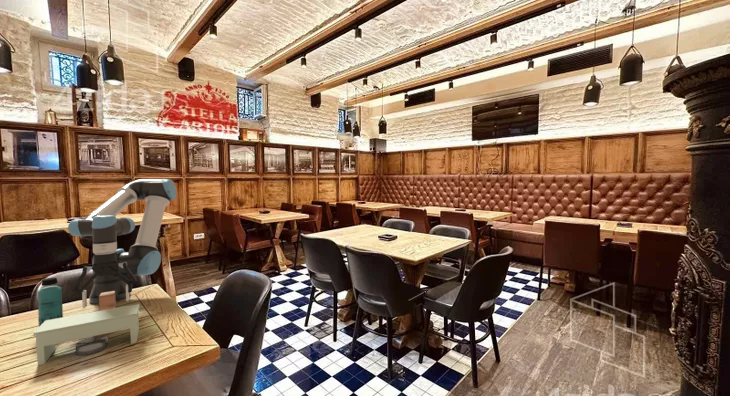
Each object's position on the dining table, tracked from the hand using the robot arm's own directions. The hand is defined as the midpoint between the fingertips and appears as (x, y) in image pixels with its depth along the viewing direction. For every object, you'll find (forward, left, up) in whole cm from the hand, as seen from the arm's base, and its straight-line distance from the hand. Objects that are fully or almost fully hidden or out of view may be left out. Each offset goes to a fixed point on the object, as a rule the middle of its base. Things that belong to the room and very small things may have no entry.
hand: (106, 303), depth 124 cm
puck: (+29, 0, -6) cm, 29 cm away
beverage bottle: (+3, -16, -6) cm, 17 cm away
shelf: (+27, 0, -6) cm, 27 cm away
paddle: (+9, 0, -6) cm, 10 cm away
